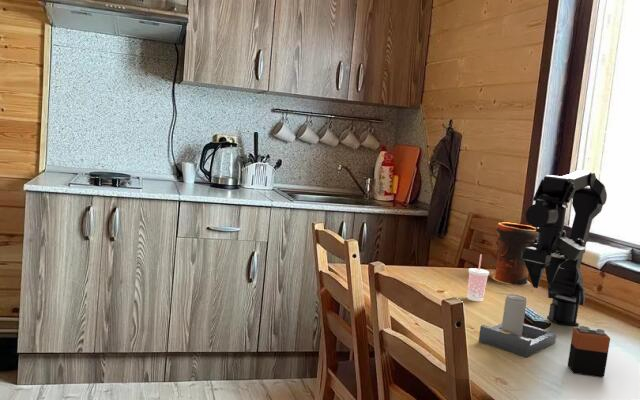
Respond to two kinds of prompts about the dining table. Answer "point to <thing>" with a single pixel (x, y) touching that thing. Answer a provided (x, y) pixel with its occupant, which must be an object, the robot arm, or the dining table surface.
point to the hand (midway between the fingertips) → (542, 285)
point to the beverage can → (514, 314)
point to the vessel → (513, 252)
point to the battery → (588, 351)
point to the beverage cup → (477, 283)
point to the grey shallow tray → (517, 339)
